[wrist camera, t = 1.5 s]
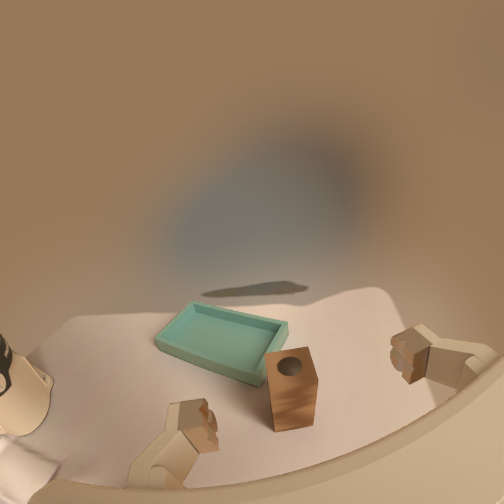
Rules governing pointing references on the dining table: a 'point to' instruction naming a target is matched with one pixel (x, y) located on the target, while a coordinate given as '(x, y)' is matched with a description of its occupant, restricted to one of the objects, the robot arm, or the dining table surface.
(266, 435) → the dining table surface
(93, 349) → the dining table surface
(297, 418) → the block
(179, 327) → the tray
